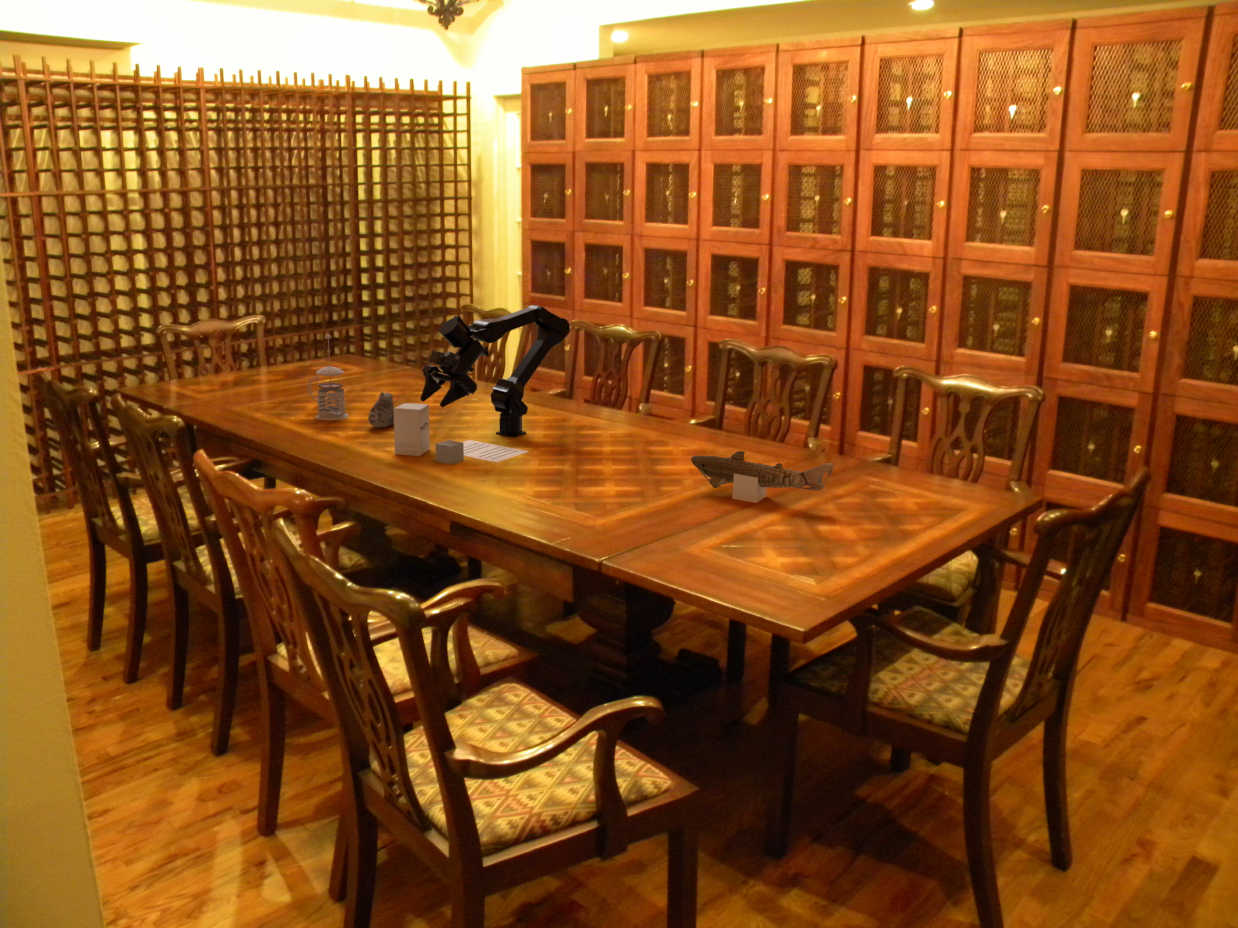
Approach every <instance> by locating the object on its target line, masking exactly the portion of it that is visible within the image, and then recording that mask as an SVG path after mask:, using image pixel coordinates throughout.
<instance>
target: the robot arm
mask: <svg viewBox="0 0 1238 928" xmlns="http://www.w3.org/2000/svg"><path fill="white" fill-rule="evenodd" d="M533 323H534V324H535V325H536V326H537V327H538V329H537V335H536V340H535V341H534V342H533V344H532V345H531V346H530V348H529V350H528V351H527V352H526V354H524V357H523V358H522V359H521V361H520V362H519V364H518V365H517V367H516V368H515V369H514V371H513V373H511V375H510V376H509V377H508V378H507V379H505V378H502V377H501V378H499V379H498V381H497V382H496V384H495V385H494V387H492V388H491V390H492V391H491V393H490V401H491V404H492V405H493V407H494V410H495V412H498V413H500V414H499V420H498V421H499V431H496V432H495V435H499V436H503V437H510V438H515V437H519V436H521V435H526V434H527V431H526V430H523V416H526V415H527V414H528V413H527V412H528V410H529V407H528V405H526V404H525V402H524V401H523V398H524V395H525V394H524V392H525V387H526V385H527V384H528V382H529V381H530V379H531V378H532V377H533V375H534V373H535V372H537V369H538V368H539V366H540V365H541V364H542V362H543V361H544V359H545V358H546V356H547V354H548V353H549V352H550V350H551V349H552V348H554V347H555V346H557V345H559V344H561V343H562V342H563V341H564V340H565V339H566V338H567V337H568V335H569V334H570V331H571V328H570V326H571V325H570V322H569V321H568V320H567V318H564V317H560V316H558V315H556V314H554V313H553V312H550V311H549V310H548V309H546V308H545V307H544V306H542V305H537V304H536V305H535V304H532V305H529V306H528V307H526V308H523V309H520V310H517V311H514V312H512V313H509V314H505V315H503V316H500V317H496V318H485V319H482V318H481V319H478V320H475V321H473V323H472V324H470V325H467V324H466V323H465V321H464V319H463V318H462V317H461V316H460V315H454V316H453V318H450V319H448V320H446V321H445V322H443V323H442V325H441V326H440V328H439V333H440V335H441V336H442V337H443V338H444V339H445V340H446V341H447V342H448V343H449V344H450V345H451V347H453V348H455V349H456V348H458V349H457V350H456V351H455V352H452V351H449V350H447V351H446V352H441V351H438V350H431V354H430V356H429V359H428V362H429V363H434V364H436V365H433V364H426V365H424V367H423V368H422V370H421V372H422V373H423V374H422V375H423V376H424V379H425V382H424V385H423V386H424V387H423V389H422V393H421V395H420V399H419V400H420V401H421V402H423V403H424V402H425V401H426V400H428V399H430V398H431V397H432V396H433V395H435V394H436V393H437V392H438V391H439V390H441V389H442V388H443V387H442V386H443V385H445V383H446V382H448V383H449V388H448V390H447V392H446V393H445V394H444V396H443V397H442V399H441V401H440V403H439V406H440V408H445V407H446V406H448V405H450V404H452V403H454V402H456V401H458V400H460V399H462V398H464V397H467V396H470V395H474V394H475V392H476V391H477V390H478V384H477V383H476V382H475V380H473V378H472V377H470V375H469V374H468V373H469V372H470V373H473V371H474V370H475V369H474V367H473V366H474V364H475V363H476V362H477V360H479V358H480V356H482V357H487V358H488V357H489V356H490V353H489V347H488V346H485V345H482V343H486V344H493V343H496V342H497V341H499V340H501V339H502V338H503V337H504V335H506V334H507V333H509V332H510V331H515V330H516V329H519V328H521V327H525V326H527V325H530V324H533ZM481 342H482V343H481ZM437 365H438V366H437Z"/></svg>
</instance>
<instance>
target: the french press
mask: <svg viewBox="0 0 1238 928" xmlns="http://www.w3.org/2000/svg"><path fill="white" fill-rule="evenodd" d="M324 339H327V349H328V352H330V342H329V340H331V339H332V335H331V334H325V335H324ZM330 357H331V356H330V355H328V366H324V367H322V368H320V369H318V370H317V371H315V374H316V375H315V376H313V377H312V378H310V379H309V381H308V383H307V393H308V395H309V396H310V398H311V399H313V400H314V401H315V402H317V411H318V412H317V413H318V414H316V415H315V419H317V420H320V421H339V420H340V421H341V420H346V419H347V418H349V414H348V413H346V403H345V402H346V401H345V399H346V398H345V389H343V388H342V387H343V386H344V384H343V383H339V382H332V381H331V380H332V379H331V378H332V377H333V376H340V375H341V376H342V375H343V374H344V372H345V371H344V370H343V369H341V368H339V367H336V366H331V363H330V362H331V360H330ZM319 376H328V377H329V382H327V383H325V382H324V383H320V384H318V385H317V387H318V388H319V389H318V390H317V397H315V396H314V394H313V392H312V389H311V383H312V381H313V380H314V379H316V382H319V380H320V378H319Z"/></svg>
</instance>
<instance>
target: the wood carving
mask: <svg viewBox="0 0 1238 928" xmlns="http://www.w3.org/2000/svg"><path fill="white" fill-rule="evenodd" d="M745 453H746V452H745V451H743V450H737V451H736V452H734V453H732V455H730V457H724V456H717V455H692V456H691V458H690V461H691V463H692V465H693V466H695V468H696V469H697V470H698V471H699V472H700V474H702V476H703V477H704V478H705V479H706V481H708V482H709V484H710V485H711V486H712V488H713V489H717V488H722V487H723V486H724V485H727V484H733V485H732V487H733V488H732V497H731V498H732V500H738V501H742V502H744V501H745V502H748V503H756V504H757V503H758V502H760V501H762V500H763V499H765V498H766V497H767V488H774V489H776V488H777V489H780V488H782V489H784V488H785V489H786V488H794V489H795V488H796V489H801V490H809V491H814V492H815V491H816V492H817V491H819V492H820V491H822V490H823V489H824V486H825V485H826V484H827V481H828V480H829V478H830V476H831V474H832V472H833V470H834V464H833V463H832V462H828V463H827V462H826V463H824V464H820V465H818V466H815V467H812V468H811V469H810V468H809V469H808V470H806V471H800V470H793V469H789V468H788V469H787V468H783V464H782V463H781V462H780V463H779V462H778V463H776V464H775V465H769V464H762V463H759V462H758V463H757V462H751V461H747V460H746V461H745V457H744V456H745ZM826 473H827V478H826V479H825V481H824V482H823V477H824V476H825V474H826ZM709 478H710V479H709ZM804 486H807V487H804Z"/></svg>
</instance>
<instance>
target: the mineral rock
mask: <svg viewBox="0 0 1238 928" xmlns="http://www.w3.org/2000/svg"><path fill="white" fill-rule="evenodd" d="M378 396H379V397H378V400H377V401H376V402H375V403H373V406H372V408H371V409H370V410H369V414H368V422H369V424H370V425H371V426H373V427H375V428H385V427H386V428H387V427H389V426H391V425H394V408H395V407H394V400H393V399H394V395H393V394H392V393H390V392H385V393H384V392H383V391H381V392H380V394H379V395H378Z"/></svg>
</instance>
